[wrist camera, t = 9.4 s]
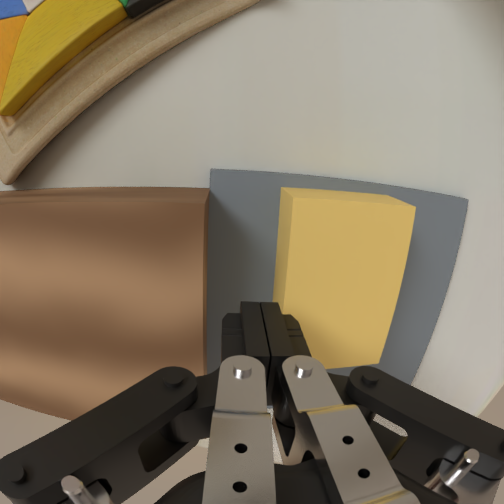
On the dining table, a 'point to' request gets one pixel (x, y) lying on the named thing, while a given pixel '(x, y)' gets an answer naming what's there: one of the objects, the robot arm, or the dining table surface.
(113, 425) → the robot arm
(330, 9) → the dining table surface
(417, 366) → the slate mat
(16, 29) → the wooden puzzle
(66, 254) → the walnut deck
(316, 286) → the ochre tile
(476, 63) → the dining table surface
